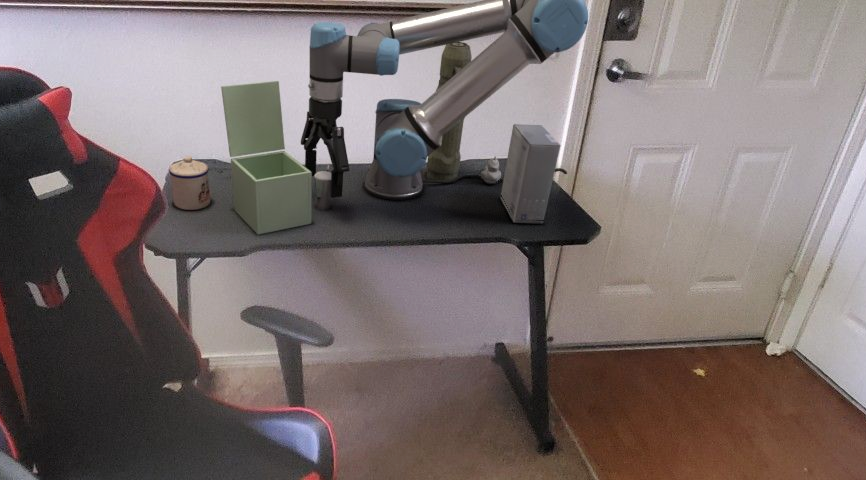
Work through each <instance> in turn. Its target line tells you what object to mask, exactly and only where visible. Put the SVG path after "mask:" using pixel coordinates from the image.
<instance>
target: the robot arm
mask: <svg viewBox="0 0 866 480" xmlns="http://www.w3.org/2000/svg"><path fill="white" fill-rule="evenodd" d="M588 22H589V10H588V6H587V3H586V2H585V0H479V1H475V2H469V3H465V4H461V5H456V6H452V7H447V8H444V9H439V10H434V11H431V12H426V13H421V14H417V15H412V16H408V17H404V18H403V17H402V18H399V19H394V20H392V21H386V22H382V23H379V22H373V21H372V22H368V23H366V24H364V25H363V26H362V27H361V28H360V30H359V31H358V33H357V35H350V34H347V32H346V27H345V25H343V24H342V23H339V22H338V23H337V22H331V21H321V22H316V23H314V24H313V25H312V26H311V28H310V35H309V36H310V38H309V84H308V85H307V88H308V89H309V90H308V91H309V92H308V95H309V96H310V97H309V98H308V111H307V112H306V120H305V124H304V127H303V131H302V135H301V138H300V145H301V146H303V150H304V153H305V154H304V158H305V159H304V167H306V168H307V169H308V170H309V171H311V172H312V177H314V175H315V174H316V173H317V149H318V147H317V145H318V143H319V142H320V140H322V141H323V144H324V145H325V146H326V149H327V151H328V156H329V159H330V161H331V166H332V170H330V173H331V199H335V198H341V197H343V190H344V189H343V187H344V186H343V184H344V173H347V172H349V171H350V164H349V158H348V152H347V146H346V141H345V128H344V126H337V120H338V118H340V117H341V116H342V113H343V100H342V98H343V96H344V95H343V93H344V92H343V91H344V73H353V74H363V75H364V74H365V75H378V76H381V77H383V76H394V75H396V74H397V73H398V70H399V62H400V56H401V55H405V54H409V53H414V52H419V51H423V50H429V49H432V48H438V47H443V46H446V45H447V44H451V43H456V42H465V41H470V40H473V39H479V38H483V37H488V36H493V35H497V34H501V35H500V36H498V37H497V38H496V39H495V40H494V41H493V42H491V44H489V45H488V46H487V47H486V48H485V49H483V50H482V51H481V52H480V53H479V54H477V55H476V56H475V57H474V58H473V59H471V62H470V63H468V64H467V65H466V66H465V67H464V68H463V69H461V70H460V71H459V72H458V73H457V74H456V75H455V76H453V77H452V78H451V79H450V80H449V81H448V82H446V83H445V84H444V85H443V86H442V87H441V88H439V89H438V90H437V91H436V90H435V92H433V93H432V94H431V95H430V96H429V97H428V98H426V99H425V100H424V101H423V102H422V103H421V102H420V101H417V100H412V99H402V98H386V99H381V100H379V101H378V102H377V103H376V110H375V127H374V143H373V158H372V161H371V164H370V166H369V168H368V169H367V170H368V171H367V174H366V176H365V181H364V189H365V191H366V192H367V193H368V194H370V195H372V196H374V197H377V198H380V199H384V200H390V201H391V200H392V201H404V200H405V201H406V200H410V199H414V198H417V197H418V196H420V195H421V194H422V192H423V187H424V186H423V185H424V184H443V185H445V184H446V185H447V184H452V183H455V182H457V181H459V180H460V179H463V178H476V179H482V178H481V176H479V175H480V174H477V175H463V174H458V176H459V177H458V176H457V178H454V179H451V180H430V179H423V178H422V173H421V170H422V169H423V167H424V166H425V164H426V163H427V160H428V156H429V155H430V154H431V153H432V152H434V151H435V150H436V149H437V148H438V147H440V146H441V142H442V137H443V135H444V134H445V133H446V132H448V131H449V130H450V129H451V128H452V127H454V126H455V125H456V124H457V123H458V122H460V121H461V120H462V119H463V118H464V119H465V118H466V117H468V115H470V114H471V113H472V112H473V111H474V110H475V109H477V108H478V107H479V106H481V105H483V103H484V102H486V100H488V99H489V98H490V97H492V96H493V95H494V94H495V93H496V92H497V91H499V90H500V89H501V88H503V87H504V86H505V85H506V84H508V83H509V82H510V81H511V80H512V79H514V78H515V77H516V76H517V75H518V74H520V73H521V72H522V71H523V70H524V69H526V67H528V66H529V65H531V64H533V65H534V64H535V65H541V64H543V63H544V62H545V61H547V60H548V59H549V58H550V57H551V56H553V55H554V54H557V53H562V52H566V51H568V50H570V49H571V48H573V47H575V46H576V45H577V43H579V41H580V40H581V39H582V37H584V34H585V32H586V30H587V27H588ZM556 172H561V173H562V174H564V175H568V172H567V171H566V170H565V169H564V168H561V167H558V168H556V167H555V172H554V173H556ZM460 175H462V176H460ZM503 180H504V178H503V179H500V180H499V182H501V183H503ZM545 285H546V288H547V287H548V284H545Z"/></svg>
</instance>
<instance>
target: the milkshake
mask: <svg viewBox="0 0 866 480" xmlns="http://www.w3.org/2000/svg"><path fill="white" fill-rule="evenodd" d="M331 173H332V172H331V171H330V164H329V163H328V164H327V167H326V171H325V170H319V171H316V174H315V175H314V176H313V177H314V186H315V187H314V188H315V201H316V207H317V209H319V210H321V211H323V210H324V211H326V210H329V209H330V208H331V202H332V198H331Z"/></svg>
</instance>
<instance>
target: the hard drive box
mask: <svg viewBox="0 0 866 480" xmlns="http://www.w3.org/2000/svg"><path fill="white" fill-rule="evenodd" d="M561 146H562V145H561V144H560V143H559V142H558V140H557V139H555V138H554V137H553V135H552V134H551V133H550V132H549V131H548V130H547V129H546V128H545V127H544V126H543V125H542V124H519V123H513V125H512V129H511V136H510V140H509V145H508V153H507V158H506V163H505V167H504V168H505V169H504V174H503V179H504V180H503V182H502V186H501V192H500V198H499V199H500V201H501V202H502V204H503V206H504V208H505V209H506V212H507V213H508V215H509V217H510V219H511V221H512V222H513V223H515V224H544V221H516V220H545V216H546V212H547V207H548V203H549V199H550V194H551V190H552V186H553V185H552V184H553V180H554V176H555V173H556V172H555V169H556V167H557V162H558V158H559V153H560V149H561ZM501 195H502V197H503V199H504V200H503V199H502V197H501ZM504 201H505V202H504ZM505 203H506V204H505ZM506 205H507V206H506ZM507 207H508V208H507ZM508 209H509V210H508ZM509 211H510V212H509Z"/></svg>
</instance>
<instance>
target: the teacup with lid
mask: <svg viewBox="0 0 866 480" xmlns="http://www.w3.org/2000/svg"><path fill="white" fill-rule="evenodd" d="M209 170H210V169H209V167H208V165H207V164H206V163H205V162H201V161H198V160H195V159H193V157H192V156H191V155H190V156H189V155H186V156H184V157H183V159H182V160H180V161H178V162H174V163H173V164H171V165H170V166H169V169H168V172H169V174H170V181H171V191H172V198H173V204H174V206H175V207H176V208H178V209H180V210H186V211H197V210H201V209H205V208H207V207H208V206H209V205H210V203H211V194H210V182H209Z"/></svg>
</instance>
